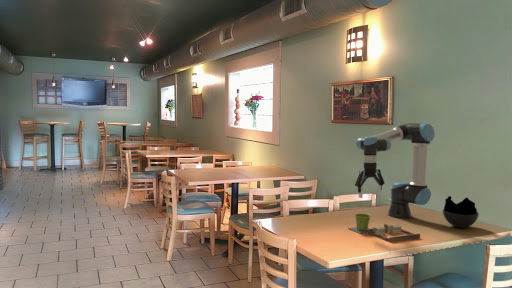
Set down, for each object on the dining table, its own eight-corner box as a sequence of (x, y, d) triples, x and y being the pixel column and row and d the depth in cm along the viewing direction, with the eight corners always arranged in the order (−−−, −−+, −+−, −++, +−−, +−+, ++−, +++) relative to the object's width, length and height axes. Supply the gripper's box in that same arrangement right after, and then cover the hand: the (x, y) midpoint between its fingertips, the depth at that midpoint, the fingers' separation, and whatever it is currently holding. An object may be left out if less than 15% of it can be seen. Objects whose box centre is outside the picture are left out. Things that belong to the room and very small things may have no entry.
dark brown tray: (368, 233, 239) (368, 229, 239) (396, 229, 247) (396, 225, 247) (390, 242, 222) (390, 237, 221) (420, 238, 229) (420, 233, 229)
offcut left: (372, 234, 238) (372, 227, 238) (380, 232, 241) (380, 226, 241) (377, 235, 235) (377, 229, 234) (385, 234, 237) (385, 227, 237)
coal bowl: (485, 229, 248) (486, 199, 247) (460, 232, 241) (462, 201, 240) (458, 222, 267) (460, 193, 266) (435, 224, 260) (436, 195, 259)
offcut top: (384, 224, 241) (388, 223, 242) (384, 232, 242) (388, 231, 243) (388, 225, 238) (392, 225, 239) (388, 234, 238) (392, 233, 239)
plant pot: (373, 229, 246) (373, 215, 245) (365, 232, 239) (366, 218, 238) (359, 226, 252) (359, 212, 251) (351, 229, 245) (351, 215, 245)
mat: (348, 228, 249) (348, 228, 249) (364, 226, 253) (364, 226, 253) (360, 233, 238) (360, 233, 238) (376, 231, 242) (376, 231, 242)
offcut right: (388, 232, 243) (388, 225, 242) (396, 231, 245) (396, 224, 244) (392, 233, 239) (392, 227, 239) (400, 232, 241) (401, 226, 241)
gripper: (356, 164, 237) (356, 199, 239) (390, 161, 246) (390, 195, 248) (349, 162, 244) (349, 197, 245) (382, 160, 253) (382, 193, 255)
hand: (369, 196), depth 247 cm, fingers open, 13 cm apart
